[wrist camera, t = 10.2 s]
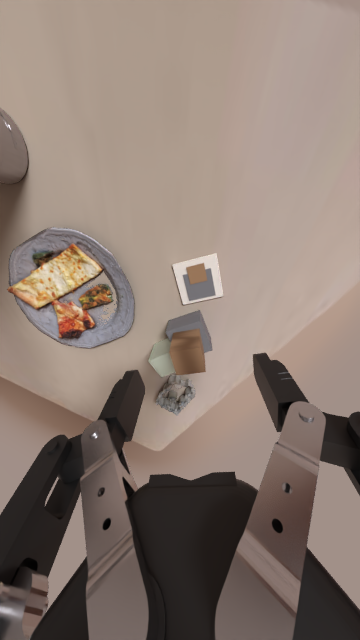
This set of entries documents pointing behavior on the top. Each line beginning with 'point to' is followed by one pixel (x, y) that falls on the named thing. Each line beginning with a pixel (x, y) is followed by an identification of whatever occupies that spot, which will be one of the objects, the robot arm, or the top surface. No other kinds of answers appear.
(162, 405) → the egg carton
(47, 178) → the top surface
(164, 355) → the sage block
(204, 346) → the charcoal block
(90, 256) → the food plate
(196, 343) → the walnut block
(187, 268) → the tile
